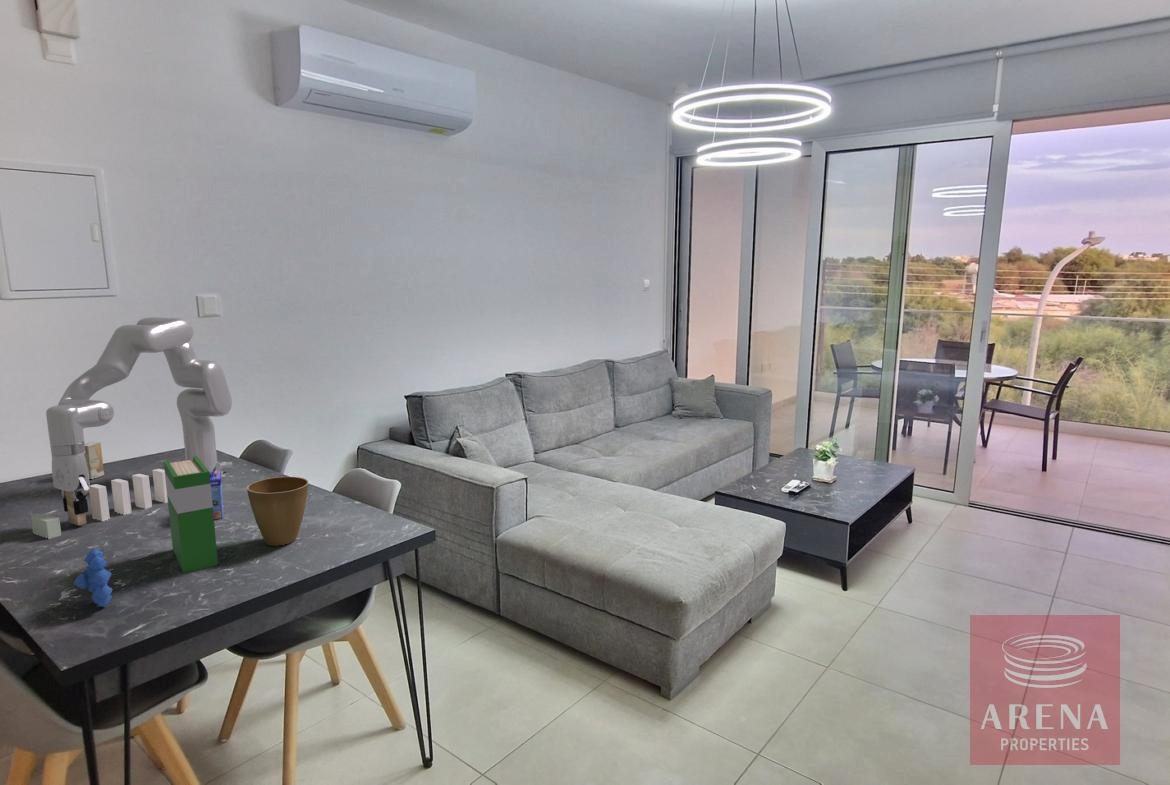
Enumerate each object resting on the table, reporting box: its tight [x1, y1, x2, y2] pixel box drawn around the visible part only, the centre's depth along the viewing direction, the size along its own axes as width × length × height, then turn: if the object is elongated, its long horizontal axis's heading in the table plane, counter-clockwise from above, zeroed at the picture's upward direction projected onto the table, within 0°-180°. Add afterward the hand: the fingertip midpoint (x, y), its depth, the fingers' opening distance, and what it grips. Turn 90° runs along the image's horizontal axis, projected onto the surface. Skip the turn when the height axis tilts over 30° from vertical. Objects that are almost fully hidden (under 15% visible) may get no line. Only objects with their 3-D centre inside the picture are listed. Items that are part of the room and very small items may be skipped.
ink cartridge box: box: [210, 466, 224, 520], centre depth 195 cm, size 10×6×14 cm, turn 28°
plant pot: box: [246, 476, 309, 547], centre depth 176 cm, size 15×15×16 cm
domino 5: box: [152, 468, 168, 504], centre depth 207 cm, size 2×5×10 cm, turn 63°
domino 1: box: [65, 487, 87, 526], centre depth 186 cm, size 2×5×10 cm, turn 64°
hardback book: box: [163, 456, 219, 574], centre depth 165 cm, size 18×7×24 cm, turn 39°
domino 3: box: [110, 478, 132, 516], centre depth 197 cm, size 2×5×10 cm, turn 63°
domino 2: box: [88, 483, 111, 522], centre depth 191 cm, size 2×5×10 cm, turn 63°
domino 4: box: [131, 473, 153, 510], centre depth 202 cm, size 2×5×10 cm, turn 63°
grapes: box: [73, 548, 114, 607], centre depth 142 cm, size 12×7×12 cm, turn 45°
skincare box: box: [84, 441, 105, 480], centre depth 231 cm, size 6×4×12 cm
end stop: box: [30, 512, 62, 540], centre depth 180 cm, size 3×8×5 cm, turn 63°
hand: (76, 511), depth 186 cm, fingers closed on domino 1, 4 cm apart
